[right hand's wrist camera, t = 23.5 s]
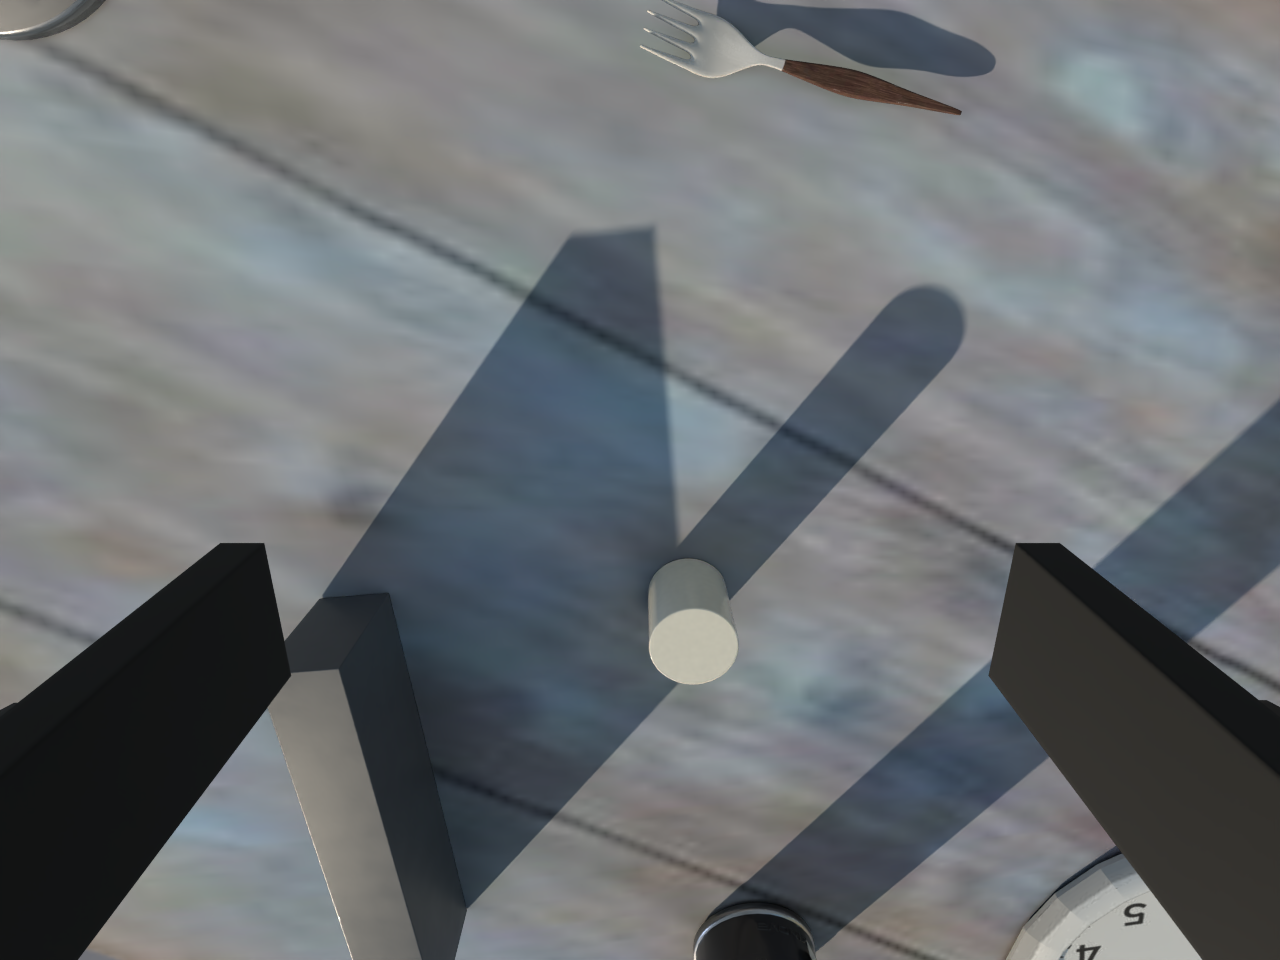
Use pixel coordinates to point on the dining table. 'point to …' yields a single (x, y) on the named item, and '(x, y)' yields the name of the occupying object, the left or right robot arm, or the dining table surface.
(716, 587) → the off-white cylinder
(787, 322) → the dining table surface
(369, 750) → the bar
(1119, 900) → the wall clock
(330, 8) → the dining table surface
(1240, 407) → the dining table surface
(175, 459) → the dining table surface
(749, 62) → the fork
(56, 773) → the right robot arm
